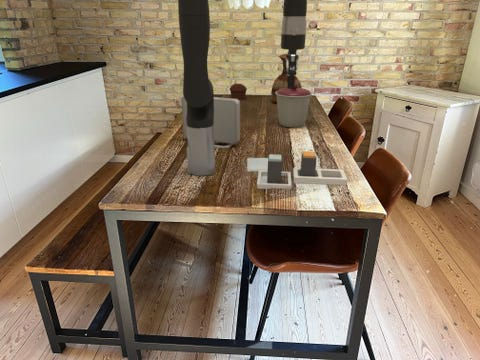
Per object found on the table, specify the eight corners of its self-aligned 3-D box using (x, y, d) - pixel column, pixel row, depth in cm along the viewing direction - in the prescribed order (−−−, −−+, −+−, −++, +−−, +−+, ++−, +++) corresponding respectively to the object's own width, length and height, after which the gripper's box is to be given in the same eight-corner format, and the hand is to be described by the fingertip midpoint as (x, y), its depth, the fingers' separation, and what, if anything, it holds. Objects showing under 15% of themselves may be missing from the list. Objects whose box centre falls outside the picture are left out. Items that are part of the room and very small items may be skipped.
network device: (181, 142, 157) (178, 97, 149) (191, 136, 165) (188, 93, 156) (234, 149, 149) (234, 102, 140) (242, 143, 156) (242, 97, 148)
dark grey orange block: (300, 180, 118) (302, 155, 115) (300, 175, 122) (301, 150, 119) (314, 181, 118) (316, 156, 114) (313, 175, 122) (315, 151, 118)
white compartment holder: (293, 185, 117) (294, 177, 116) (292, 175, 125) (293, 167, 123) (346, 188, 116) (347, 179, 114) (342, 177, 123) (343, 169, 122)
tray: (256, 190, 114) (256, 184, 114) (258, 176, 124) (258, 170, 123) (291, 191, 113) (291, 185, 113) (290, 177, 123) (290, 171, 122)
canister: (280, 131, 172) (282, 87, 164) (269, 121, 189) (271, 80, 180) (315, 128, 176) (319, 85, 167) (302, 119, 192) (304, 79, 183)
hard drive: (247, 157, 138) (247, 170, 126) (268, 157, 137) (270, 170, 126) (247, 161, 138) (247, 174, 127) (268, 161, 138) (270, 174, 127)
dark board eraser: (267, 184, 117) (267, 159, 113) (267, 178, 121) (268, 154, 117) (280, 185, 116) (282, 159, 113) (280, 179, 120) (282, 154, 117)
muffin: (249, 98, 241) (249, 83, 237) (243, 101, 232) (243, 86, 228) (233, 96, 245) (232, 82, 241) (226, 100, 236) (226, 84, 232)
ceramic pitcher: (266, 104, 224) (268, 54, 212) (276, 98, 241) (278, 51, 229) (297, 107, 217) (300, 55, 205) (304, 100, 234) (308, 52, 222)
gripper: (281, 31, 117) (279, 82, 123) (281, 33, 104) (278, 89, 111) (304, 31, 116) (300, 82, 123) (307, 33, 103) (303, 90, 110)
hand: (290, 85), depth 117 cm, fingers open, 8 cm apart
